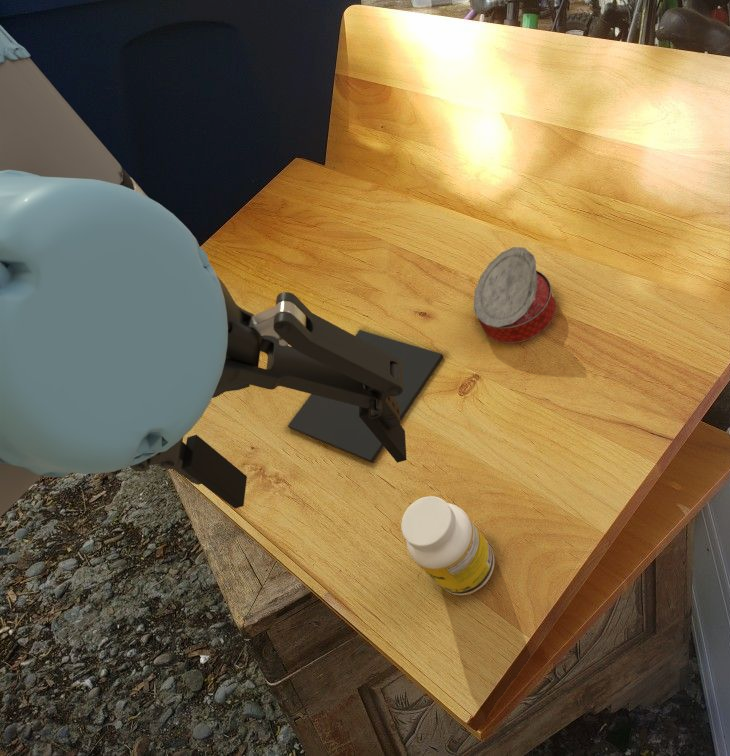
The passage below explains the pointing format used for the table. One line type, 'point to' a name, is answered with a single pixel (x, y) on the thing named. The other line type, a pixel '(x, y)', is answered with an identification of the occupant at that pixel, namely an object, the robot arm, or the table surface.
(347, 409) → the mat
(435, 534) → the pill bottle
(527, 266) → the canned food
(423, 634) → the table surface
